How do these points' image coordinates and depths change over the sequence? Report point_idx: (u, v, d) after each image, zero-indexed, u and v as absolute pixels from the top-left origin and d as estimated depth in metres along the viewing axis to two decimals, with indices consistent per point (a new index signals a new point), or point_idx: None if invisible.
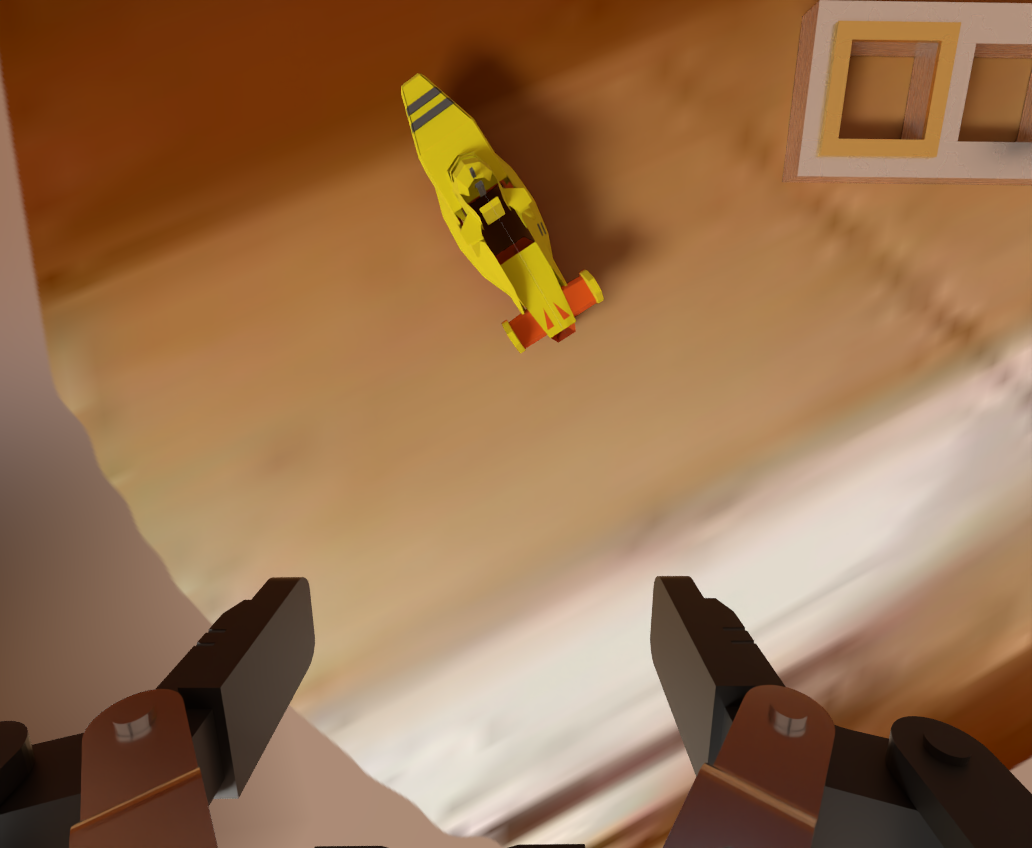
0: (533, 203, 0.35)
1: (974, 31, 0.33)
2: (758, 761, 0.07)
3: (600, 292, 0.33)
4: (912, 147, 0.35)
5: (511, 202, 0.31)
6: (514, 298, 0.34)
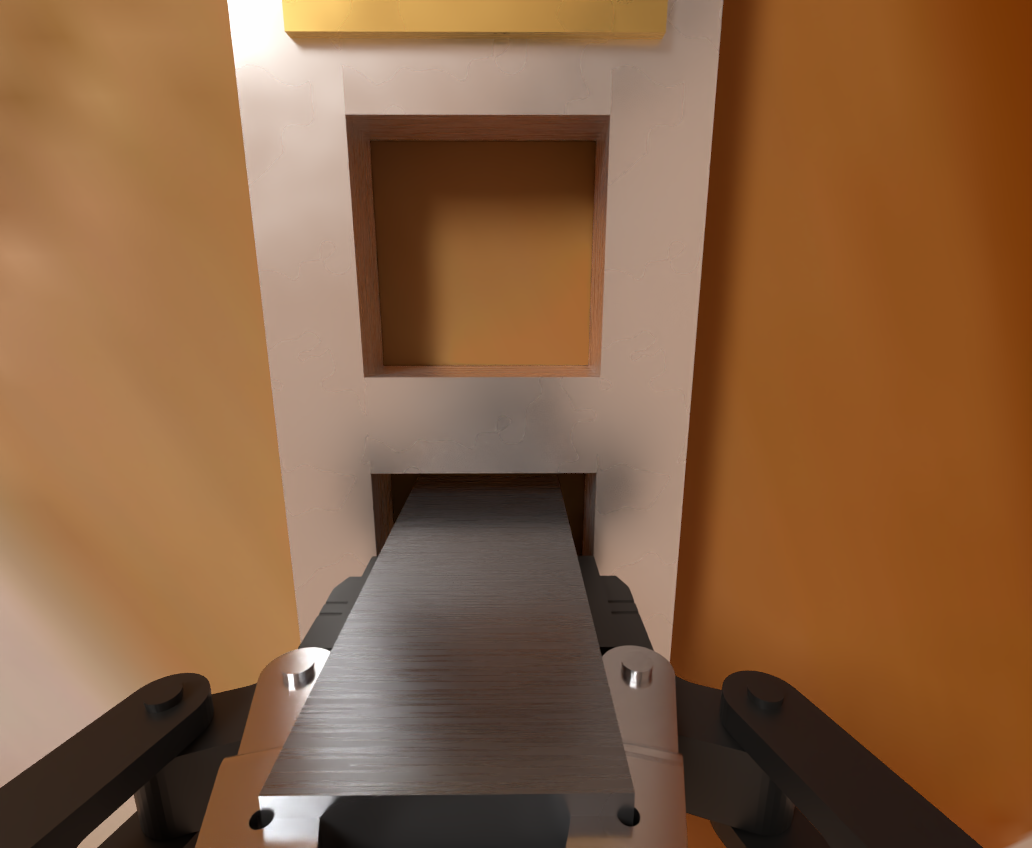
0: None
1: (641, 101, 0.11)
2: None
3: None
4: None
5: None
6: None
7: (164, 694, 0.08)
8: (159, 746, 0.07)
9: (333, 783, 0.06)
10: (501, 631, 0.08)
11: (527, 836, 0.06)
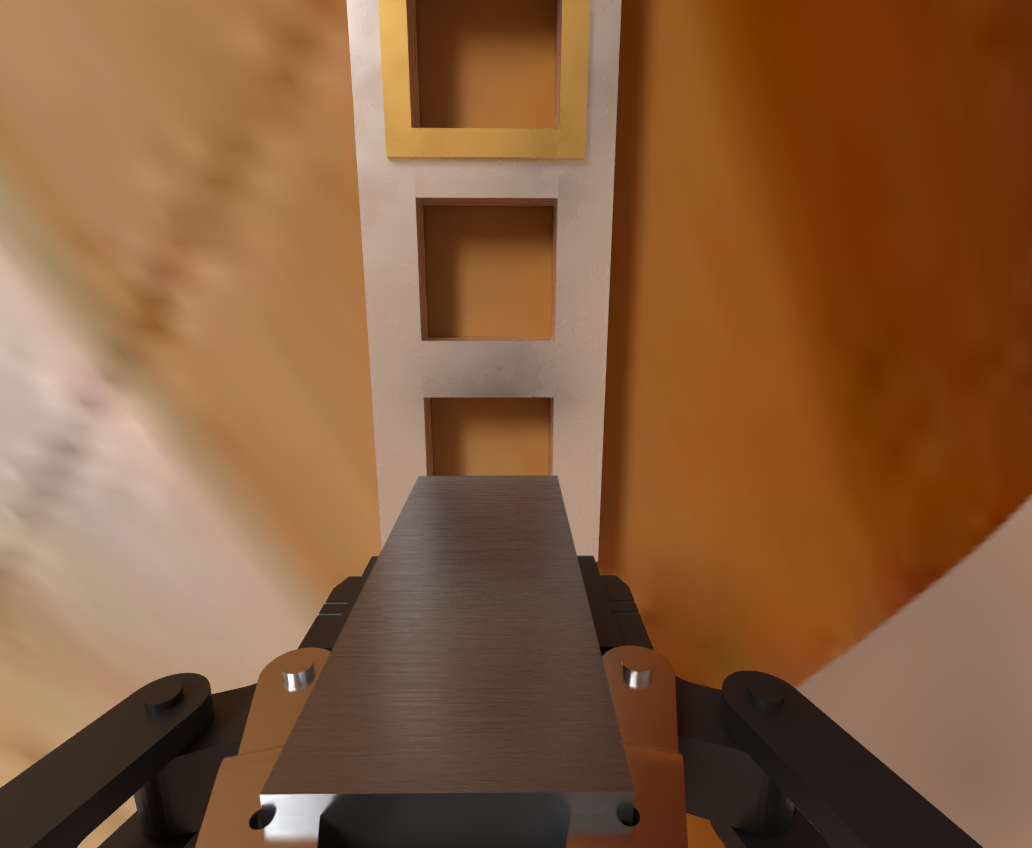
0: None
1: (574, 191, 0.21)
2: None
3: None
4: (398, 107, 0.20)
5: None
6: None
7: (163, 695, 0.08)
8: (159, 745, 0.07)
9: (334, 782, 0.06)
10: (502, 630, 0.08)
11: (527, 835, 0.06)
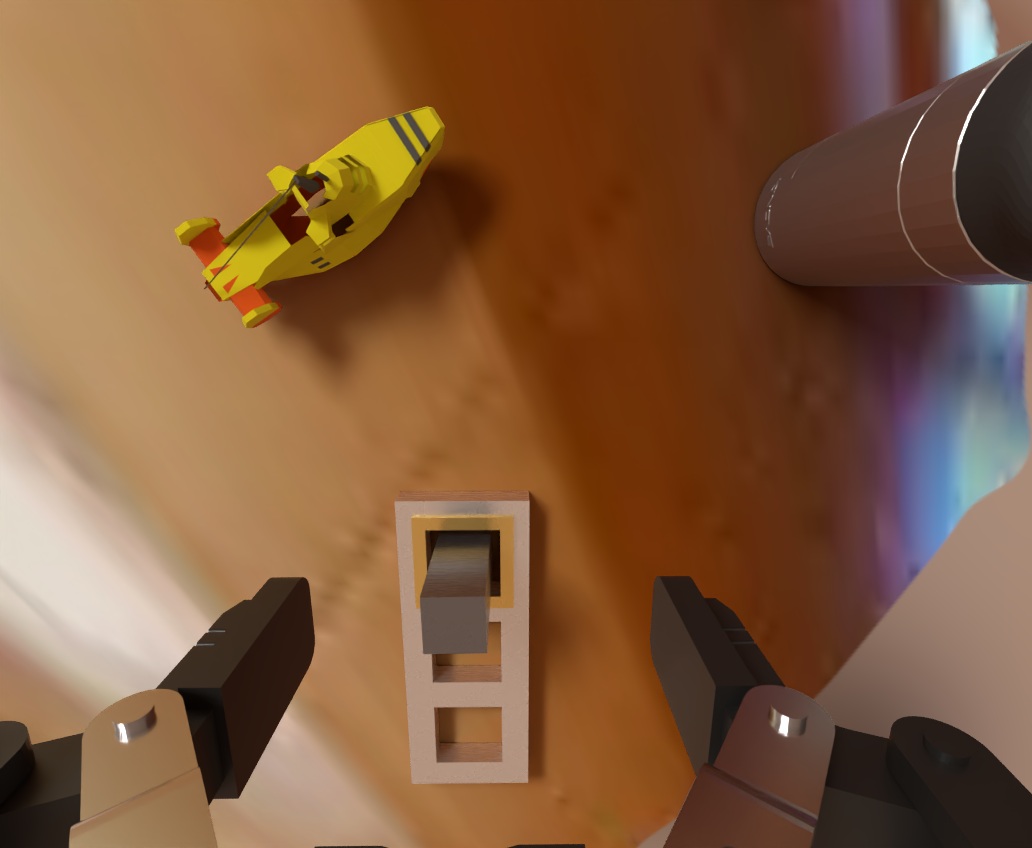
0: (347, 254, 0.35)
1: (509, 618, 0.42)
2: (757, 761, 0.07)
3: (245, 322, 0.33)
4: (421, 589, 0.41)
5: (314, 223, 0.30)
6: None
7: None
8: None
9: (432, 595, 0.33)
10: (464, 573, 0.35)
11: (466, 605, 0.33)
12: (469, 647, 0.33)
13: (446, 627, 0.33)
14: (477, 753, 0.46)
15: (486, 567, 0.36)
